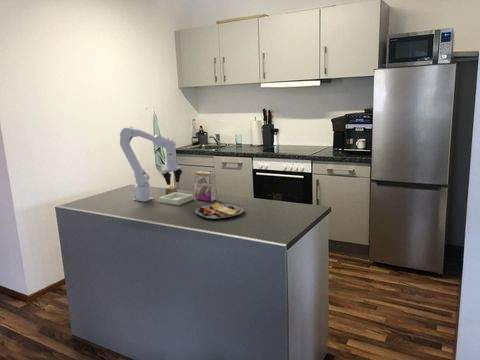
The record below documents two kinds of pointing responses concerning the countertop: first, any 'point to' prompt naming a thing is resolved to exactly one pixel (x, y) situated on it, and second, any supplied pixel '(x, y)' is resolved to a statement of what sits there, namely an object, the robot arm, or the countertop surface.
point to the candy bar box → (205, 186)
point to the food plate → (218, 210)
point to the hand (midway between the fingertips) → (173, 183)
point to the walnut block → (170, 190)
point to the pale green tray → (175, 198)
